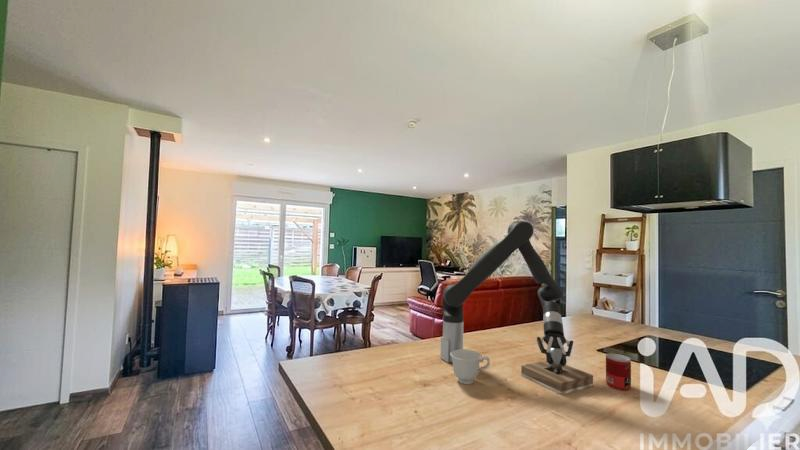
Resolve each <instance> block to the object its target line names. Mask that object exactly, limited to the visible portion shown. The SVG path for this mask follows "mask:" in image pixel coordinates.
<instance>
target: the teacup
mask: <svg viewBox="0 0 800 450" xmlns="http://www.w3.org/2000/svg"><path fill="white" fill-rule="evenodd" d="M450 355H451V356H452V361H453V362H452V368H453V369H452V370H453V374H454V376H455V377H456V378H457V381H458V382H459V383H461V384H464V385H471V384H473V382H474V380H475V379H476V378H477V377H478V374H479V373H480V372H481V371H483V370H486V369H488V367H489V366H490V364H491V363H490V358H489V357H488V356H482V354H481V352H478V351H475V350H470V349H464V348H463V349H460V350H454V351H452V352H451V353H450ZM484 360H486V361H487V363H486V365H484V366H481V367H480V363H483V362H484Z"/></svg>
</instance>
